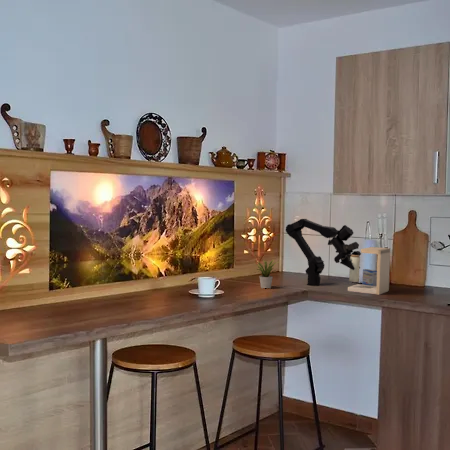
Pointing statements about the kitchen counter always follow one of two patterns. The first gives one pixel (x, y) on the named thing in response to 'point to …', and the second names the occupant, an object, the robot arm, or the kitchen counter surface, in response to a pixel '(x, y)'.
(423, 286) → the kitchen counter surface
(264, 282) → the house plant
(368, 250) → the light wood frame
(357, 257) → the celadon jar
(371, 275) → the medicine box
